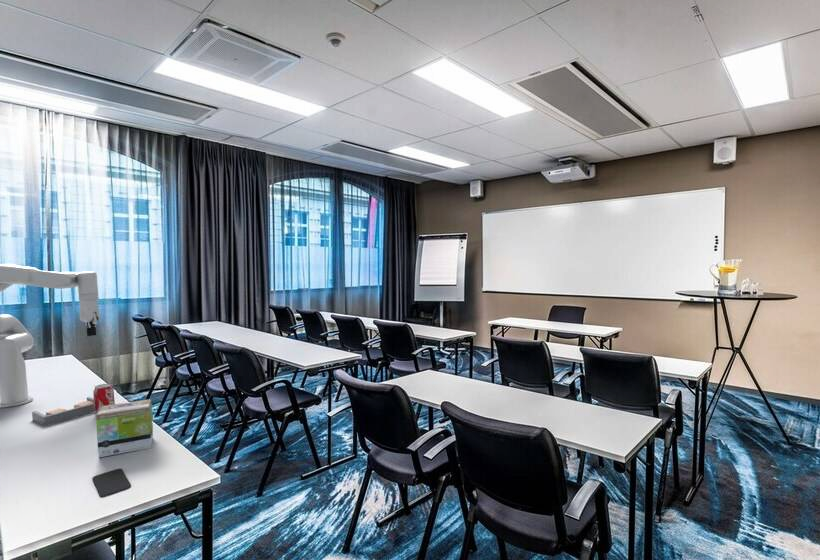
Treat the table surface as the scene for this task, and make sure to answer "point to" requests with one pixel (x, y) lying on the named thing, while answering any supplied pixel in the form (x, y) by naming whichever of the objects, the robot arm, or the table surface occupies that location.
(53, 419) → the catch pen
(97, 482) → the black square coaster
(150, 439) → the tea box
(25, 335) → the robot arm
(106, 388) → the soda can
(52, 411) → the light orange-brown block
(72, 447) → the table surface
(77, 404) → the peach rectangular block
